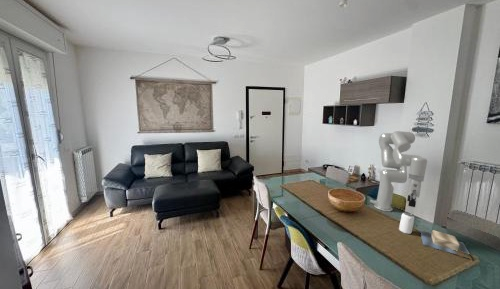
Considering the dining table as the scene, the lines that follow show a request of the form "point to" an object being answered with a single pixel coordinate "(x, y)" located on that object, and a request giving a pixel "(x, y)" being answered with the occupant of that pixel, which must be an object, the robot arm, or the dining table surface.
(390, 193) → the robot arm
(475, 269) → the dining table surface
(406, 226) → the can
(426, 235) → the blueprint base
